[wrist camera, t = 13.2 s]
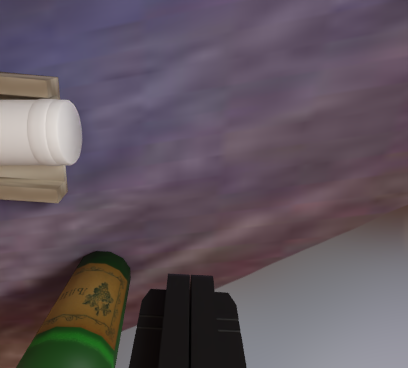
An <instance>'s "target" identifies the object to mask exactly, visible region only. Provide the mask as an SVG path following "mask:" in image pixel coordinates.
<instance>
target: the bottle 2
mask: <svg viewBox="0 0 408 368" xmlns="http://www.w3.org/2000/svg"><path fill="white" fill-rule="evenodd" d="M129 285H130V267H129V266H128V265H127V263H126V262H125V260H124V259H123V258H121V257H119V256H117V255H115V254H113V253H111V252H99V251H96V252H93V253H91V254H89V255H87V256H84V257H83V259H82V261H81V262H80V264H79V265H78V267H77V269H76V270H75V272H74V273H73V275H72V277H71V278H70V280H69V282H68V283H67V285H66V287H65V288H64V290H63V291H62V293H61V295H60V296H59V298H58V300H57V301H56V303H55V305H54V306H53V308H52V309H51V311H50V313H49V314H48V316H47V318H46V319H45V321H44V323H43V324H42V326H41V328H40V329H39V331H38V332H37V334H36V336H35V337H34V339H33V341H32V342H31V344H30V346H29V347H28V349H27V350H26V352H25V354H24V355H23V357H22V359H21V360H20V362H19V364H18V365H17V367H16V368H115V365H116V359H117V352H118V347H119V342H120V336H121V330H122V325H123V319H124V313H125V308H126V302H127V296H128V290H129Z"/></svg>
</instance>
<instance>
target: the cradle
mask: <svg viewBox="0 0 408 368" xmlns="http://www.w3.org/2000/svg"><path fill="white" fill-rule="evenodd" d="M38 99H58V100H60V94H59V82H58V77H50V76H39V75H28V74H17V73H6V72H0V100H38ZM67 192H68V191H67V179H66V167H65V165H61V166H45V165H5V166H0V199H4V200H19V201H34V202H49V203H59V202H60V200H61V199H62V198H63V197H64V196H65V194H66V193H67Z"/></svg>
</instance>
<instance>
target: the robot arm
mask: <svg viewBox="0 0 408 368" xmlns="http://www.w3.org/2000/svg"><path fill="white" fill-rule="evenodd" d="M129 368H246V362H245V356H244V349H243V343H242V337H241V333H240V326H239V321H238V313H237V307H236V304H235V302H234V301H233V299H232V298H231V296H230V295H229V294H228V293H222V292H214V281H213V276H204V275H191V281H190V275H184V274H168V280H167V289H166V290H160V289H150V291H149V292H148V293H147V295H146V296H145V297H144V299H143V300H142V303H141V308H140V313H139V318H138V323H137V329H136V334H135V339H134V344H133V349H132V355H131V360H130V365H129Z"/></svg>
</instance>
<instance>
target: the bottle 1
mask: <svg viewBox="0 0 408 368" xmlns="http://www.w3.org/2000/svg"><path fill="white" fill-rule="evenodd" d="M81 146H82V128H81V122H80V118H79V114H78V111H77V109H76V107H75V106H74V104H73V103H71V102H70V101H69V100H58V99H38V100H0V166H5V165H45V166H61V165H72V164H74V163H75V162H76V161H77V159H78V158H79V155H80V152H81Z"/></svg>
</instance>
